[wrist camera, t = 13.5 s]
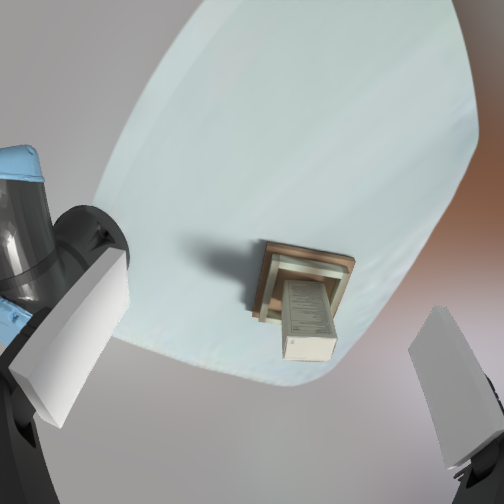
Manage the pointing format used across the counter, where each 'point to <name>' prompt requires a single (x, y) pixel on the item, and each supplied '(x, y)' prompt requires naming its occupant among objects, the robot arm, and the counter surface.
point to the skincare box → (307, 322)
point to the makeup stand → (298, 277)
